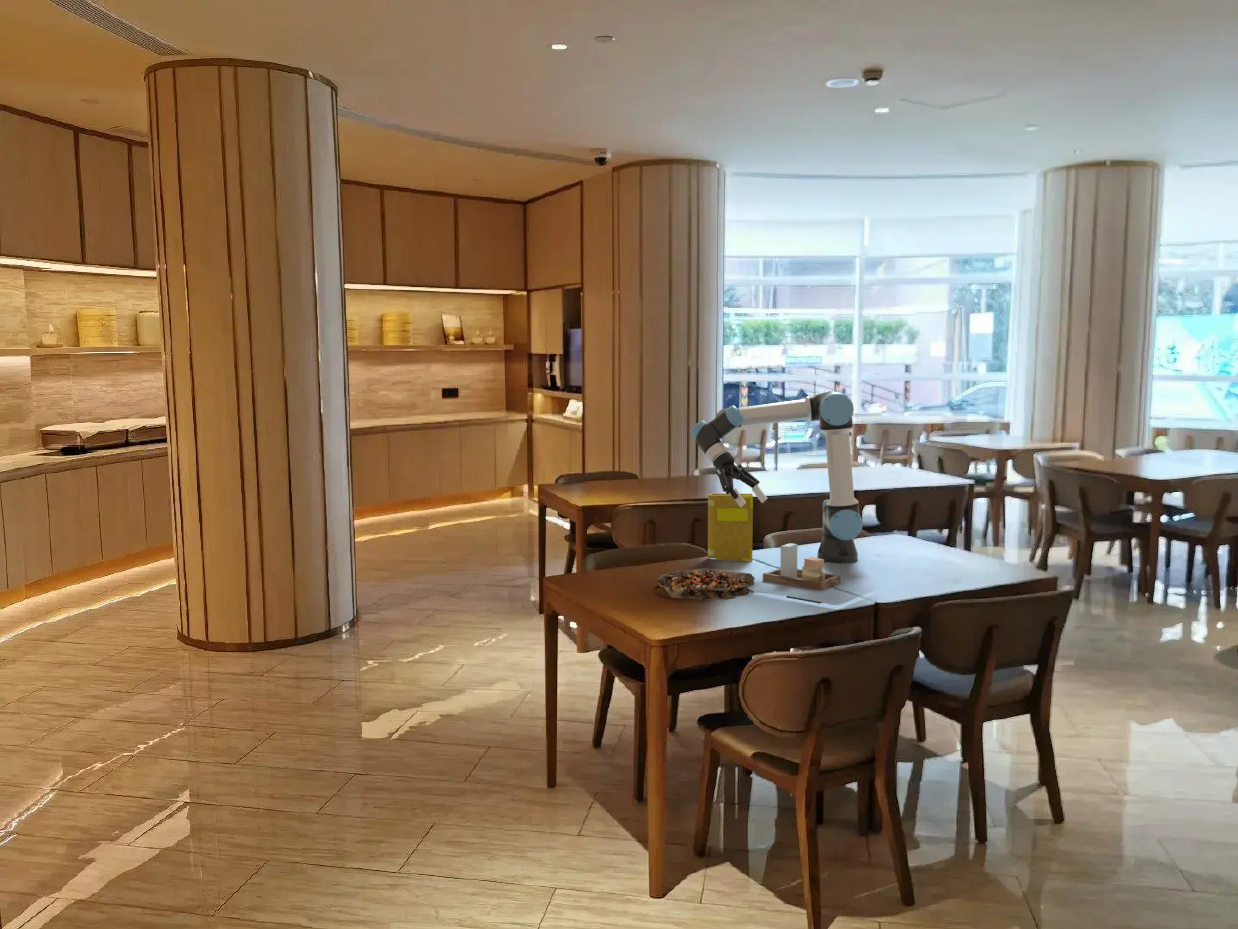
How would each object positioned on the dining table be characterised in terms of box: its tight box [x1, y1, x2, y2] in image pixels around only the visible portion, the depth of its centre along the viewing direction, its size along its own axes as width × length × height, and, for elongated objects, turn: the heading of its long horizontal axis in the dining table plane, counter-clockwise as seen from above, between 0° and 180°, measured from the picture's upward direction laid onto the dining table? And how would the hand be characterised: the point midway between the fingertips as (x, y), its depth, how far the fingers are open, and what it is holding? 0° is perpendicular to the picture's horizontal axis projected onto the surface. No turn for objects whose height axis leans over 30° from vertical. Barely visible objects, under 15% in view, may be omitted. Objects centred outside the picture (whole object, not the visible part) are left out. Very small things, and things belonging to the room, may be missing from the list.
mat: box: [786, 595, 823, 604], centre depth 310 cm, size 12×12×1 cm
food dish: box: [656, 567, 756, 601], centre depth 323 cm, size 35×33×8 cm
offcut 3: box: [802, 575, 825, 582], centre depth 323 cm, size 5×6×3 cm
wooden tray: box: [762, 568, 842, 591], centre depth 326 cm, size 14×22×4 cm, turn 49°
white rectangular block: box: [780, 542, 798, 578], centre depth 329 cm, size 6×3×12 cm, turn 139°
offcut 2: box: [801, 565, 824, 577], centre depth 323 cm, size 4×6×3 cm
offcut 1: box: [803, 556, 825, 568], centre depth 323 cm, size 4×5×2 cm
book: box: [707, 493, 754, 562], centre depth 368 cm, size 17×7×25 cm, turn 84°
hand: (754, 503), depth 342 cm, fingers open, 13 cm apart
